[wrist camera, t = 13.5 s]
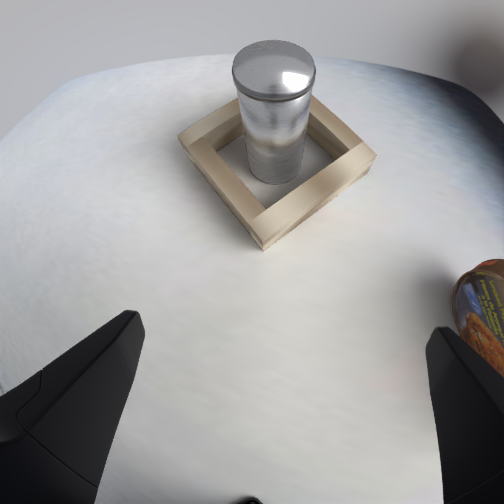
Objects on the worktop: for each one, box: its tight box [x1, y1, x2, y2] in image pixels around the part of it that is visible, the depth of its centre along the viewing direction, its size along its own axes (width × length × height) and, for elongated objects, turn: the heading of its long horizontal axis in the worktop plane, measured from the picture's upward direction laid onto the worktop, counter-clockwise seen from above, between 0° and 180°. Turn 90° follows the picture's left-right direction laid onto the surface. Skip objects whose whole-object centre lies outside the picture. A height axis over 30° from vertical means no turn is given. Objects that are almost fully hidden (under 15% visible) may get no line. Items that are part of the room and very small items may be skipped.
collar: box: [177, 94, 377, 251], centre depth 23 cm, size 11×11×3 cm
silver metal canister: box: [232, 40, 316, 185], centre depth 20 cm, size 5×5×11 cm
